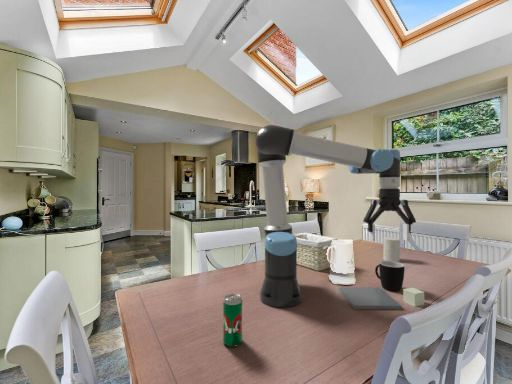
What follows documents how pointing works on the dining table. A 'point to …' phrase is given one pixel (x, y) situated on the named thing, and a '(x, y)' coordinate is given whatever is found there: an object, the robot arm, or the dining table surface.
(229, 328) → the soda can
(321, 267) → the storage basket
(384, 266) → the mug
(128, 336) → the dining table surface
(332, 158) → the robot arm
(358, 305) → the slate trivet
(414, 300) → the sage block
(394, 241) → the cup
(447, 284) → the dining table surface
